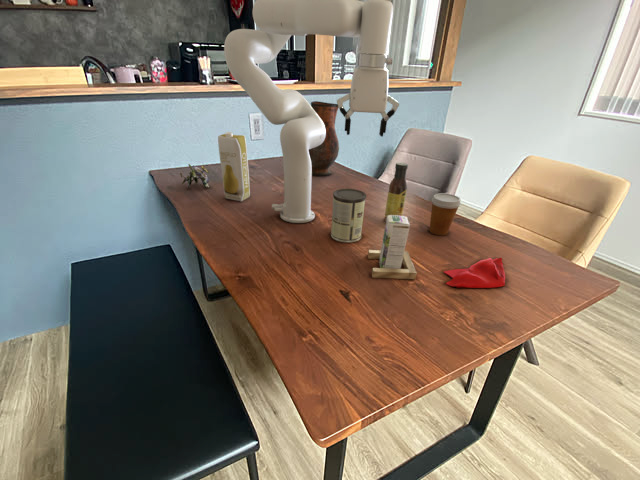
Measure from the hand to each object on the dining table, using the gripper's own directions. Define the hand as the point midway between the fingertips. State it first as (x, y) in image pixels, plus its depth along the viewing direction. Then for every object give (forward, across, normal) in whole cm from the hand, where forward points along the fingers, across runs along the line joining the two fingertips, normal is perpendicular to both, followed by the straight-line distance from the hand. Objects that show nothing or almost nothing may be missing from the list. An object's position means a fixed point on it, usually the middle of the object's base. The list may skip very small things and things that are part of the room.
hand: (364, 134), depth 105 cm
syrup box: (+31, -9, +23) cm, 39 cm away
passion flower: (+31, +64, -39) cm, 81 cm away
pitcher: (+31, +14, -68) cm, 76 cm away
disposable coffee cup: (+31, -30, -4) cm, 43 cm away
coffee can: (+31, +3, +3) cm, 31 cm away
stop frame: (+30, -9, +23) cm, 39 cm away
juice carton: (+31, +45, -29) cm, 62 cm away
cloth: (+31, -35, +26) cm, 53 cm away
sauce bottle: (+31, -15, -12) cm, 36 cm away
